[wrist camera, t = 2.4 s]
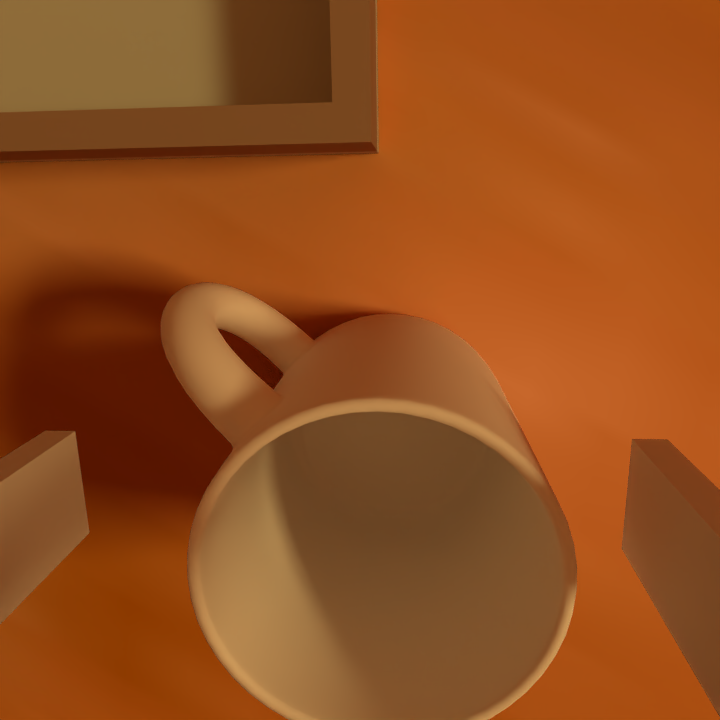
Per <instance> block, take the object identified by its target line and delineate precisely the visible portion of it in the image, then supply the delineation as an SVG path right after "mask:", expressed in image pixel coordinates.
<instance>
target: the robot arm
mask: <svg viewBox="0 0 720 720" xmlns="http://www.w3.org/2000/svg"><path fill="white" fill-rule="evenodd" d="M88 534H89V526H88V519H87V512H86V504H85V497H84V490H83V483H82V476H81V469H80V462H79V454H78V447H77V440H76V433H75V431H44V432H42V433H41V434H39V435H38V436H36V437H34V438H33V439H31V440H30V441H28V442H26V443H25V444H23V445H22V446H20V447H18V448H17V449H15V450H14V451H12V452H10V453H9V454H7V455H6V456H4V457H3V458H1V459H0V624H1V623H2V622H3V621H4V620H5V619H6V618H7V617H8V616H9V615H10V614H11V613H12V612H13V611H14V610H15V609H16V608H17V606H18V605H19V604H20V603H21V602H22V601H23V600H24V599H25V598H26V597H27V596H28V595H29V594H30V593H31V592H32V591H33V590H34V589H35V588H36V587H37V586H38V585H39V584H40V583H41V582H42V581H43V580H44V579H45V578H46V577H47V576H48V575H49V574H50V573H51V572H52V571H53V570H54V569H55V568H56V567H57V566H58V564H59V563H60V562H61V561H62V560H63V559H64V558H65V557H66V556H67V555H68V554H69V553H70V552H71V551H72V550H73V549H74V548H75V547H76V546H77V545H78V544H79V543H80V542H81V541H82V540H83V539H84V538H85V537H86V536H87V535H88ZM622 550H623V552H624V553H625V555H626V557H627V558H628V560H629V562H630V564H631V565H632V567H633V569H634V570H635V572H636V574H637V576H638V577H639V579H640V581H641V582H642V584H643V586H644V588H645V589H646V591H647V593H648V595H649V596H650V598H651V600H652V601H653V603H654V605H655V607H656V608H657V610H658V612H659V613H660V615H661V617H662V619H663V620H664V622H665V624H666V625H667V627H668V629H669V631H670V632H671V634H672V636H673V638H674V639H675V641H676V643H677V644H678V646H679V648H680V650H681V651H682V653H683V655H684V656H685V658H686V660H687V662H688V663H689V665H690V667H691V668H692V670H693V672H694V674H695V675H696V677H697V679H698V680H699V682H700V684H701V686H702V687H703V689H704V691H705V693H706V694H707V696H708V698H709V699H710V701H711V703H712V705H713V706H714V708H715V710H716V711H717V713H718V715H719V717H720V490H719V489H718V488H717V487H716V486H715V485H714V484H713V483H712V482H711V481H710V480H709V479H708V478H707V477H706V476H705V475H703V474H702V473H701V472H700V471H699V470H698V469H697V468H696V467H695V466H694V465H693V464H692V463H691V462H690V461H689V460H688V459H687V458H686V457H685V456H684V455H683V454H682V453H681V452H680V451H679V450H678V449H677V448H676V447H675V446H674V445H673V444H672V443H671V442H669V441H668V440H664V439H632V445H631V456H630V466H629V477H628V488H627V498H626V509H625V519H624V530H623V540H622Z"/></svg>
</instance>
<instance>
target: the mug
mask: <svg viewBox="0 0 720 720" xmlns="http://www.w3.org/2000/svg"><path fill="white" fill-rule="evenodd" d="M218 329H222V330H225V331H227V332H230V333H232V334H234V335H236V336H238V337H240V338H241V339H243V340H245V341H246V342H248V343H249V344H251V345H252V346H253V347H255V348H256V349H257V350H259V351H260V352H261V353H262V354H263V355H265V356H266V357H267V358H268V359H269V360H270V361H271V362H272V363H274V364H275V365H276V366H277V367H278V368H279V369H280V370H281V371H282V372H283V377H282V378H281V380H280V381H279V382H278V384H277V385H276V387H275V388H274V390H273V389H272V388H271V387H270V386H269V385H268V384H266V383H265V382H264V381H263V380H262V379H261V378H260V377H259V376H257V375H256V374H255V373H254V372H253V371H252V370H251V369H250V368H249V367H248V366H247V365H246V364H245V363H244V362H243V361H242V360H241V359H240V358H239V357H238V356H237V355H236V353H235V352H234V351H233V350H232V349H231V347H230V346H229V345H228V344H227V343H226V341H225V340H224V338H223V337H222V335H221V334H220V332H219V330H218ZM161 341H162V345H163V348H164V352H165V355H166V358H167V360H168V361H169V363H170V365H171V367H172V369H173V371H174V373H175V375H176V377H177V379H178V381H179V382H180V384H181V385H182V387H183V388H184V390H185V391H186V393H187V394H188V396H189V397H190V398H191V399H192V401H193V402H194V403H195V405H196V406H197V407H198V408H199V410H200V411H201V412H202V413H203V414H204V415H205V417H206V418H207V419H208V420H209V421H210V422H211V423H212V425H213V426H214V427H215V428H216V429H217V430H218V431H219V432H220V433H221V434H222V435H223V436H224V437H225V438H226V439H227V440H228V441H229V442H230V443H231V444H232V447H233V450H232V452H231V453H230V455H229V456H228V457H227V459H226V460H225V462H224V463H223V464H222V466H221V467H220V469H219V470H218V472H217V473H216V475H215V476H214V478H213V479H212V481H211V482H210V484H209V486H208V487H207V489H206V491H205V493H204V495H203V497H202V499H201V501H200V504H199V506H198V508H197V510H196V514H195V517H194V520H193V524H192V527H191V531H190V537H189V545H188V552H187V572H188V583H189V590H190V596H191V601H192V605H193V608H194V611H195V615H196V618H197V621H198V623H199V625H200V628H201V630H202V632H203V634H204V636H205V639H206V641H207V642H208V644H209V646H210V647H211V649H212V650H213V652H214V654H215V655H216V657H217V658H218V660H219V661H220V662H221V664H222V665H223V666H224V667H225V669H226V670H227V671H228V672H229V673H230V675H231V676H232V677H233V678H234V679H235V680H236V681H237V682H238V683H239V684H240V685H241V686H242V687H243V688H244V689H245V690H246V691H247V692H248V693H249V694H251V695H252V696H253V697H255V698H256V699H257V700H259V701H260V702H261V703H263V704H264V705H265V706H267V707H268V708H270V709H271V710H273V711H275V712H276V713H278V714H280V715H282V716H283V717H285V718H287V719H289V720H488V719H490V718H492V717H493V716H495V715H496V714H498V713H500V712H501V711H503V710H504V709H506V708H507V707H509V706H510V705H511V704H513V703H514V702H515V701H516V700H517V699H519V698H520V697H521V696H522V695H523V694H525V693H526V692H527V691H528V690H529V689H530V688H531V687H532V686H533V684H534V683H535V682H536V681H537V680H538V679H539V678H540V677H541V676H542V675H543V673H544V672H545V670H546V669H547V667H548V666H549V665H550V663H551V662H552V660H553V659H554V657H555V656H556V654H557V652H558V650H559V648H560V646H561V644H562V642H563V640H564V638H565V635H566V632H567V629H568V626H569V623H570V620H571V617H572V614H573V608H574V602H575V596H576V590H577V564H576V556H575V548H574V543H573V539H572V536H571V532H570V529H569V526H568V522H567V520H566V517H565V515H564V513H563V511H562V509H561V507H560V504H559V502H558V500H557V498H556V496H555V494H554V492H553V490H552V488H551V486H550V484H549V482H548V480H547V478H546V476H545V474H544V472H543V470H542V468H541V466H540V464H539V462H538V460H537V458H536V456H535V454H534V452H533V450H532V448H531V446H530V444H529V442H528V440H527V438H526V436H525V434H524V432H523V430H522V428H521V426H520V424H519V422H518V420H517V418H516V416H515V414H514V412H513V410H512V408H511V406H510V404H509V402H508V400H507V398H506V396H505V394H504V392H503V390H502V388H501V386H500V384H499V382H498V380H497V379H496V377H495V375H494V374H493V372H492V371H491V369H490V368H489V366H488V365H487V363H486V362H485V361H484V360H483V358H482V357H481V356H480V355H479V354H478V353H477V351H476V350H475V349H474V348H473V347H472V346H470V345H469V344H468V343H467V342H466V341H465V340H464V339H462V338H461V337H459V336H458V335H456V334H455V333H453V332H452V331H451V330H449V329H447V328H445V327H443V326H441V325H439V324H437V323H434V322H431V321H428V320H425V319H423V318H419V317H414V316H409V315H403V314H374V315H369V316H364V317H359V318H356V319H353V320H350V321H347V322H344V323H342V324H340V325H338V326H336V327H334V328H332V329H330V330H328V331H327V332H325V333H324V334H322V335H320V336H319V337H317V338H316V339H315V340H313V339H312V338H310V337H309V336H308V335H307V334H306V333H305V332H304V331H302V330H301V329H300V328H299V327H298V326H296V325H295V324H294V323H293V322H291V321H290V320H289V319H288V318H286V317H285V316H284V315H282V314H281V313H280V312H278V311H277V310H275V309H274V308H272V307H271V306H269V305H268V304H266V303H265V302H263V301H261V300H260V299H258V298H256V297H254V296H253V295H250V294H248V293H246V292H244V291H242V290H239V289H237V288H234V287H231V286H227V285H222V284H217V283H210V282H201V283H196V284H192V285H188V286H185V287H184V288H182V289H180V290H179V291H178V292H176V293H175V294H174V295H172V296H171V298H170V299H169V301H168V302H167V304H166V306H165V308H164V310H163V313H162V318H161Z"/></svg>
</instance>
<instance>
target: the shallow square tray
mask: <svg viewBox="0 0 720 720" xmlns="http://www.w3.org/2000/svg"><path fill="white" fill-rule="evenodd" d="M369 153H378V69H377V0H0V163H3V162H44V161H85V160H125V159H166V158H207V157H247V156H288V155H328V154H369Z"/></svg>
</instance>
